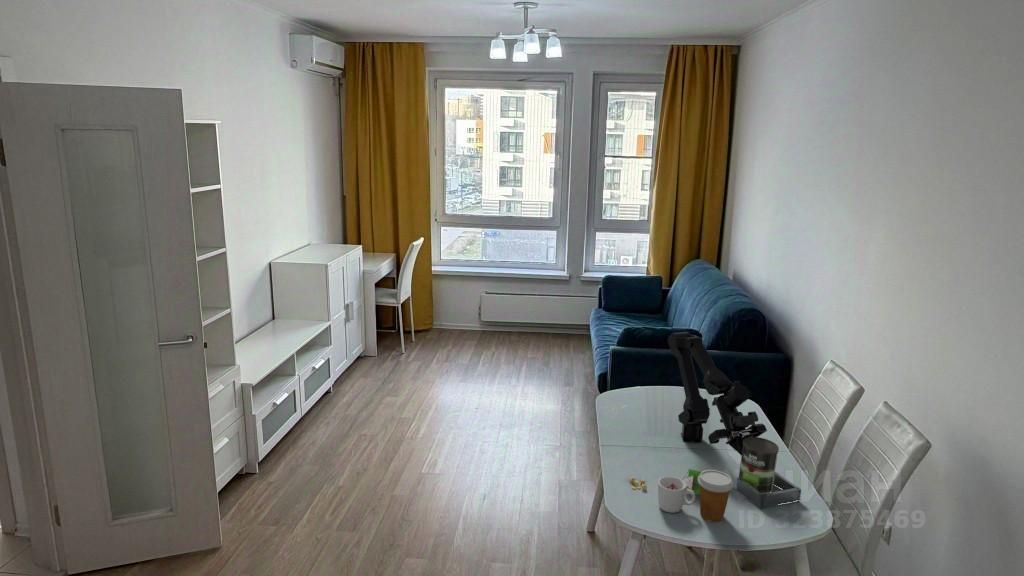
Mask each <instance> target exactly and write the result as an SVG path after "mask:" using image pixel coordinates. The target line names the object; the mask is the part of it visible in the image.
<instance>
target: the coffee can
mask: <svg viewBox="0 0 1024 576" xmlns="http://www.w3.org/2000/svg"><path fill="white" fill-rule="evenodd" d="M779 448H780V447H779V446H778V444H776V443H775V442H774V441H773V440H769V439H768V438H767V439H766V438H763V437H760V436H758V437H749V438H746V439H744V440H743V449H742V456H741V457H740V459H741V460H740V466H739V471H738V472H739V473H738V478H742V479H743V480H744V481H746V482H747V483H748V484H750V485H751V486H752V487H754V488H755V489H756V490H758V491H759V492H760V493H762V494H765V493H770V492H771V491H772V492H773V489H772V488H773V486H774V485H773V481H774V474H775V472H776V468H777V459H778V453H779Z"/></svg>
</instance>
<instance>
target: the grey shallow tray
mask: <svg viewBox="0 0 1024 576" xmlns="http://www.w3.org/2000/svg"><path fill="white" fill-rule="evenodd" d="M773 484H774V485H776V486H778V487H780V488H782V489H783V490H777V491H772V492H771V493H765V494H762V493H760V492H759V491H758V490H756V489H755V488H754V487H752V486H751V485H750V484H748V483H747V482H746V481H744V480H743V479H742V478H739V477H737V479H736V489H735V490H736V491H737V492H739V493H740V494H741V495H743V497H745V499H747V500H749V501H750V502H751V503H752V504H753V505H755V506H756V507H758V509H759V510H762V509H763V510H764V509H767V508H773V507H772V506H774V507H777V506H776V505H778V504H781V503H787V502H793V501H796V500H800V501H801V493H802V488H800V487H798V486H797V485H795V484H794V483H792V482H791V481H789V479H787V478H785V477H784V476H782V474H781V475H780V473H778V472H776V471H775V474H774V481H773ZM774 485H773V486H774Z"/></svg>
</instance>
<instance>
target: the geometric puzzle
mask: <svg viewBox="0 0 1024 576" xmlns="http://www.w3.org/2000/svg"><path fill="white" fill-rule="evenodd" d="M701 472H702V471H698V470H695V469H690V468H689V469H688V470H687V476H685V477H683V478H682V480H683V481H684V482H685V484H686V488H687V489H690V490H692V491H694V493H695V495H699V496H700V493H699V492H700V491H699V483H698V476H700V473H701Z"/></svg>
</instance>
